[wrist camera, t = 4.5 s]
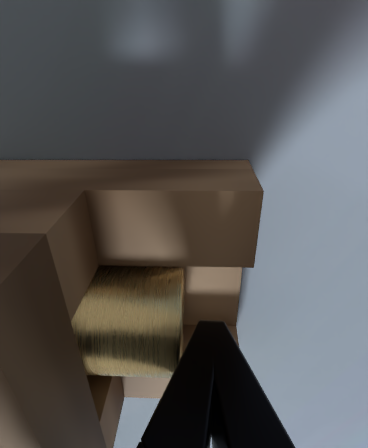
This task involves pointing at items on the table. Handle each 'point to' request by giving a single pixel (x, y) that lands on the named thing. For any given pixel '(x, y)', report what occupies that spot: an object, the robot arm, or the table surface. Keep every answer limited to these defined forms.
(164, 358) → the axle
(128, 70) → the table surface
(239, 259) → the brown notched block
